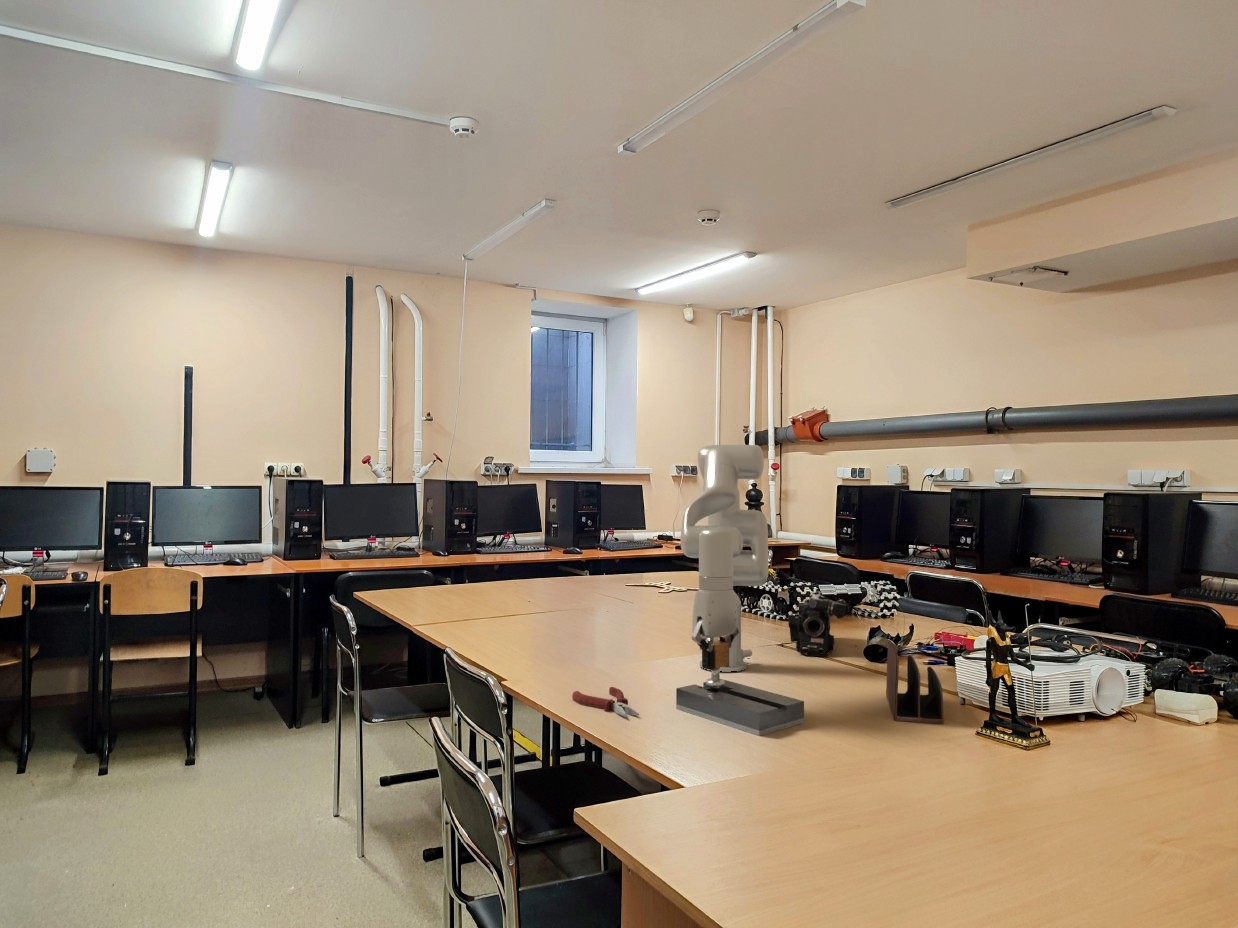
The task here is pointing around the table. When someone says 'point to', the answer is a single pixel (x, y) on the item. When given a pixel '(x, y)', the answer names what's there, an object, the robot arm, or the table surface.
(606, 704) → the pliers
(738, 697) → the keyhole track
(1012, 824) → the table surface
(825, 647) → the movie camera
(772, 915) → the table surface
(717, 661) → the peg
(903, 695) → the letter holder
